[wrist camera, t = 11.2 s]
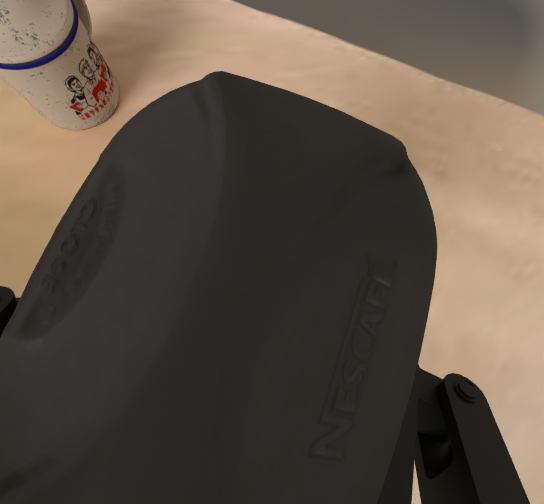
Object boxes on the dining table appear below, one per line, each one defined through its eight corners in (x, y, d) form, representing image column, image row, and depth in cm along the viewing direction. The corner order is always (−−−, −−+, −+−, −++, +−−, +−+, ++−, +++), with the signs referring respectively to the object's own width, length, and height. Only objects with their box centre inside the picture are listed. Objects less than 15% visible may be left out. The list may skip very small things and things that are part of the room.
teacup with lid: (105, 143, 30) (17, 44, 19) (22, 120, 30) (-118, 6, 19) (143, 54, 33) (86, -80, 21) (67, 32, 32) (-32, -116, 21)
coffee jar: (223, 233, 23) (123, -41, 5) (312, 267, 23) (543, 118, 5) (174, 349, 21) (-306, 611, 3) (272, 385, 21) (413, 876, 3)
